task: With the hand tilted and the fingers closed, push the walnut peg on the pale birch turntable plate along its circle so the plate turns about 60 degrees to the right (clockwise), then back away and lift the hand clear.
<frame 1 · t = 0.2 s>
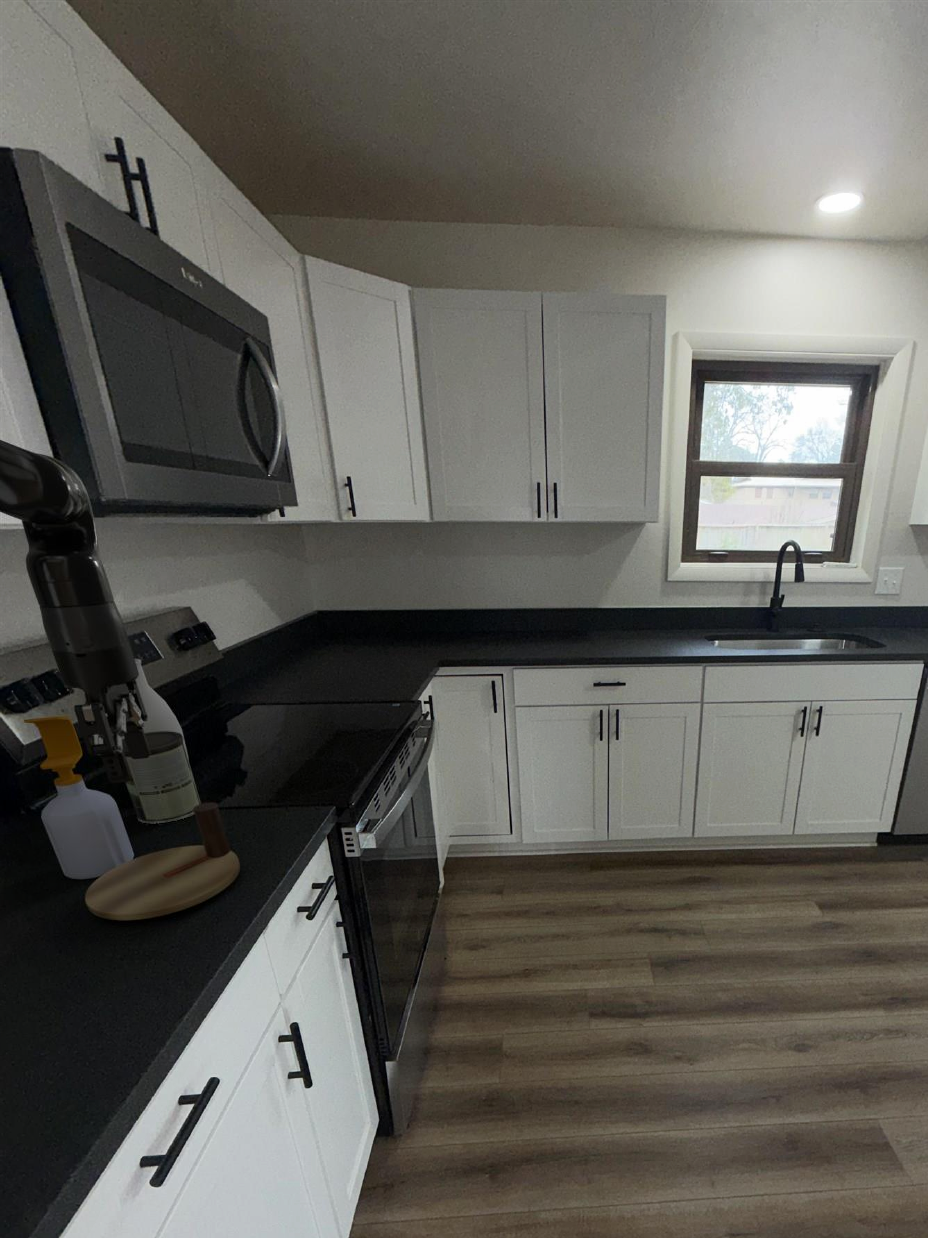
hand: (132, 769, 83), 20 cm above the counter, tool pointing down, fingers open, 8 cm apart
bottle: (165, 788, 128), on the counter
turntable: (158, 855, 92), point 6 cm above the counter, hinge at 0.0°
coffee can: (170, 813, 118), on the counter
soap bottle: (100, 866, 101), on the counter
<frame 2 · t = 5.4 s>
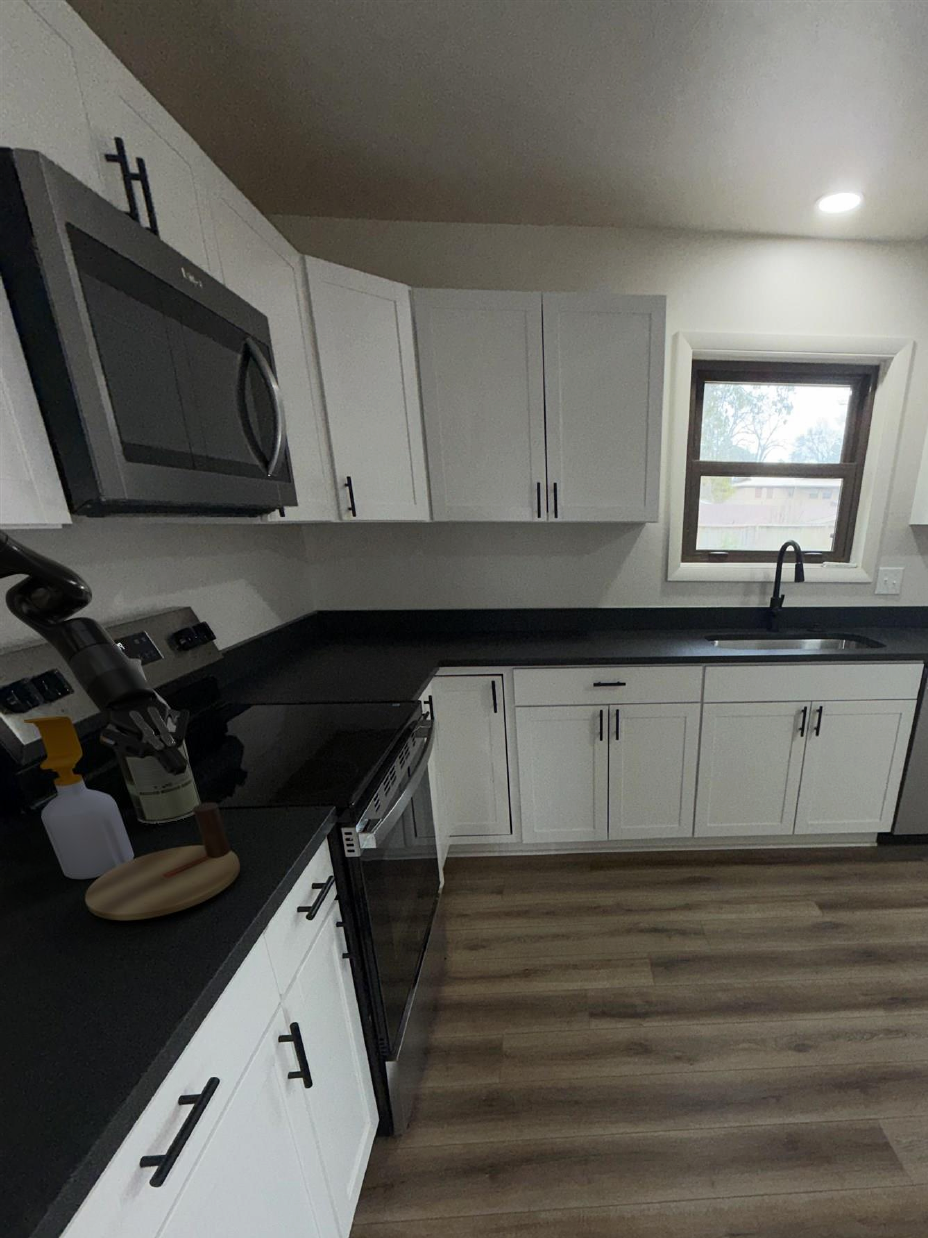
hand: (180, 771, 97), 15 cm above the counter, tool tilted 45°, fingers closed
nothing on the counter moved.
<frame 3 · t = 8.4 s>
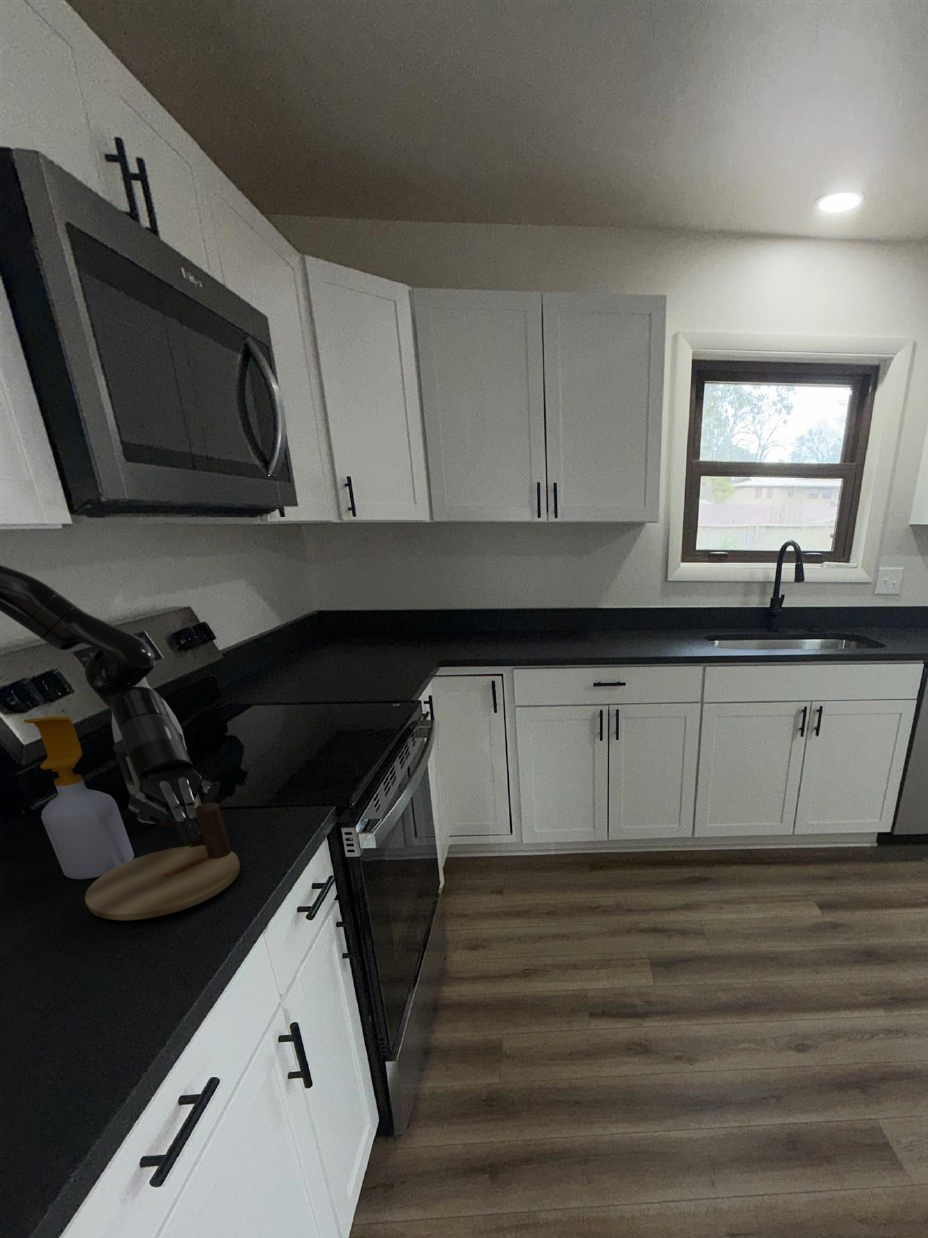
hand: (196, 844, 98), 4 cm above the counter, tool tilted 45°, fingers closed
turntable: (158, 855, 92), point 6 cm above the counter, hinge at -2.4°, touching gripper
everything else where it was.
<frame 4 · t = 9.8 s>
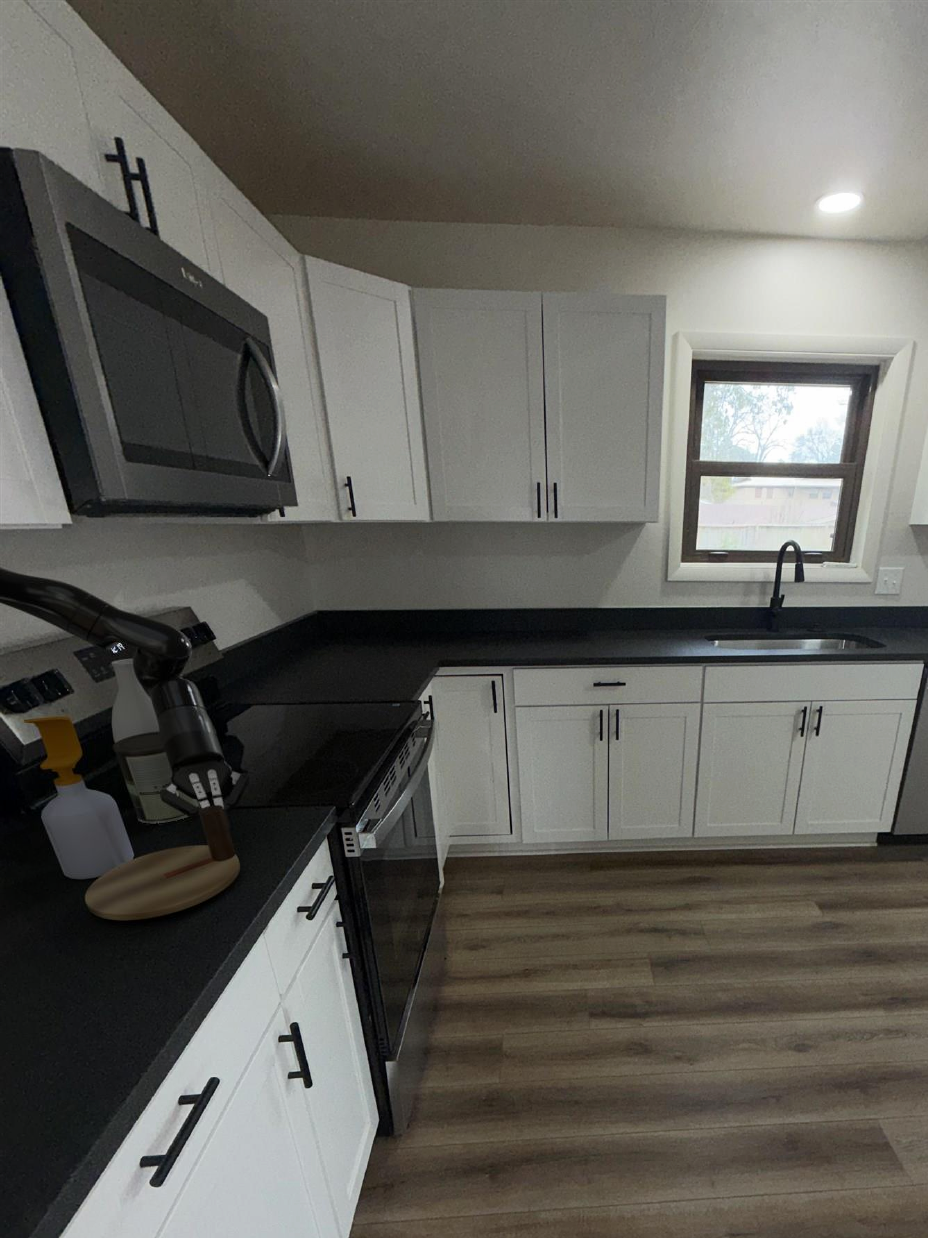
hand: (222, 836, 100), 5 cm above the counter, tool tilted 45°, fingers closed
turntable: (158, 855, 92), point 6 cm above the counter, hinge at -12.0°, touching gripper
everything else where it was.
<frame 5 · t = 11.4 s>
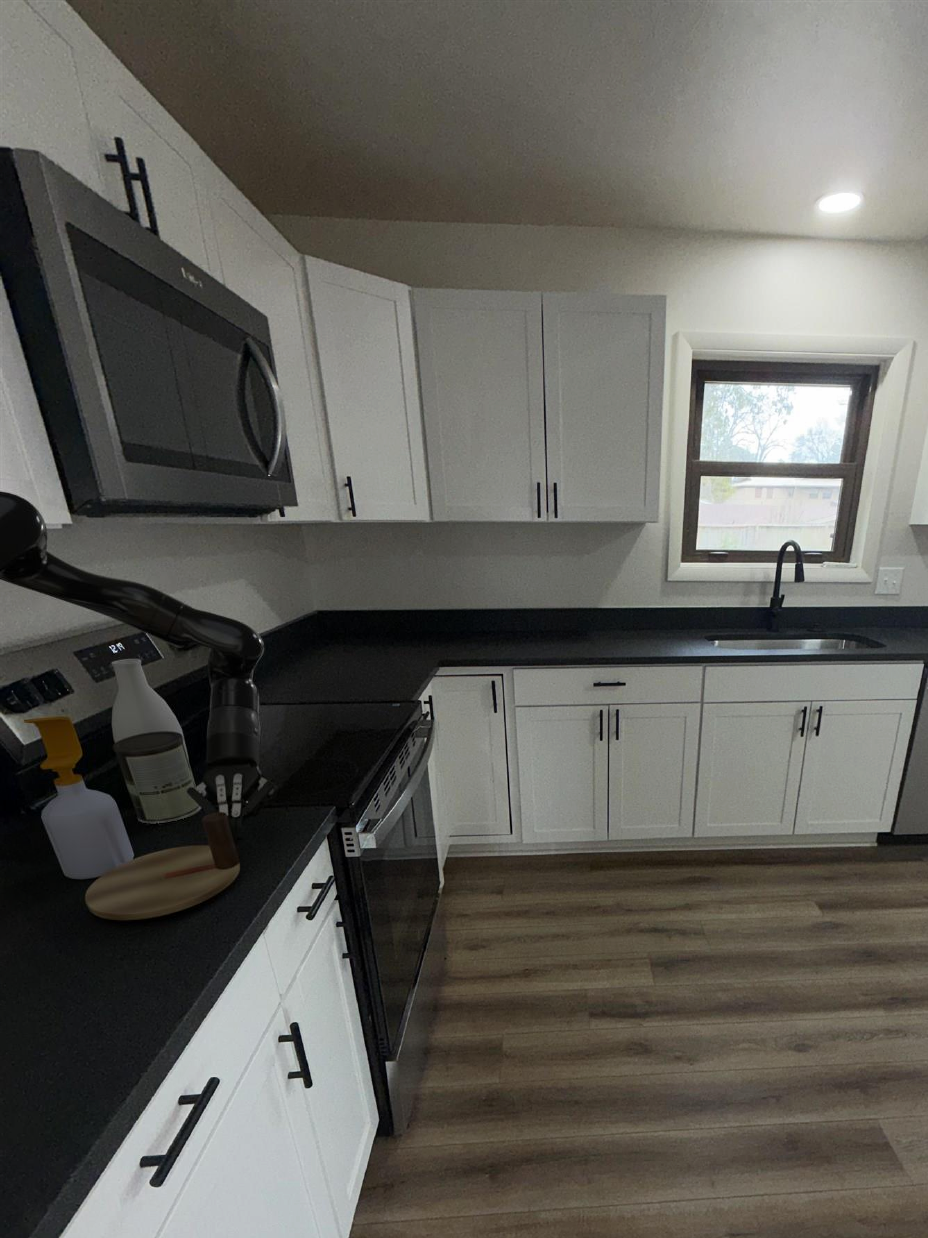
hand: (232, 843, 97), 5 cm above the counter, tool tilted 45°, fingers closed
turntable: (158, 855, 92), point 6 cm above the counter, hinge at -34.0°, touching gripper
everything else where it was.
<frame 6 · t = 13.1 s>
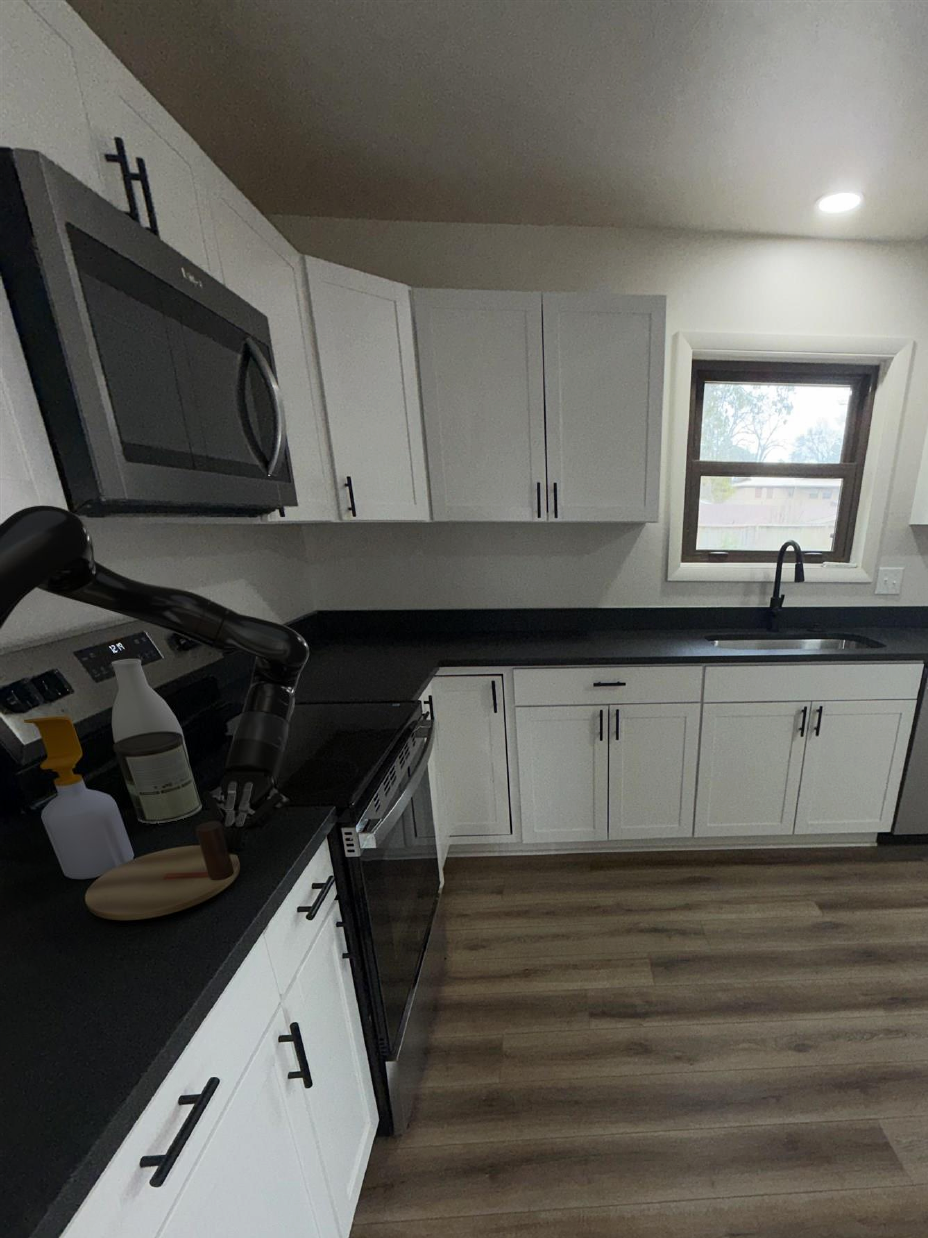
hand: (231, 853, 95), 5 cm above the counter, tool tilted 45°, fingers closed
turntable: (158, 855, 92), point 6 cm above the counter, hinge at -56.7°
everything else where it was.
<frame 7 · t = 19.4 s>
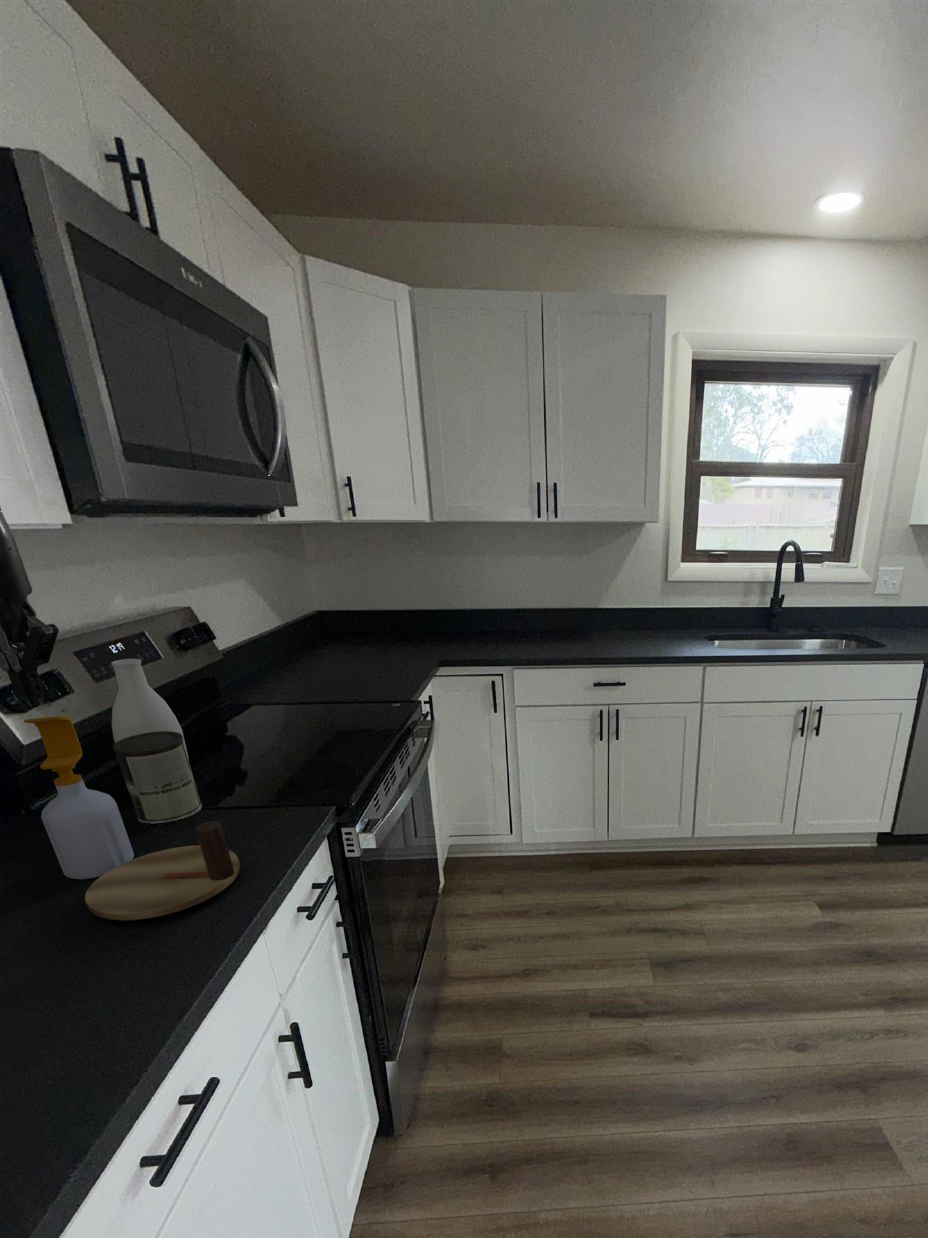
hand: (32, 698, 82), 29 cm above the counter, tool pointing down, fingers closed
nothing on the counter moved.
at the end: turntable at -57° (first picture: +0°); coffee can moved 0.2 cm from its start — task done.
